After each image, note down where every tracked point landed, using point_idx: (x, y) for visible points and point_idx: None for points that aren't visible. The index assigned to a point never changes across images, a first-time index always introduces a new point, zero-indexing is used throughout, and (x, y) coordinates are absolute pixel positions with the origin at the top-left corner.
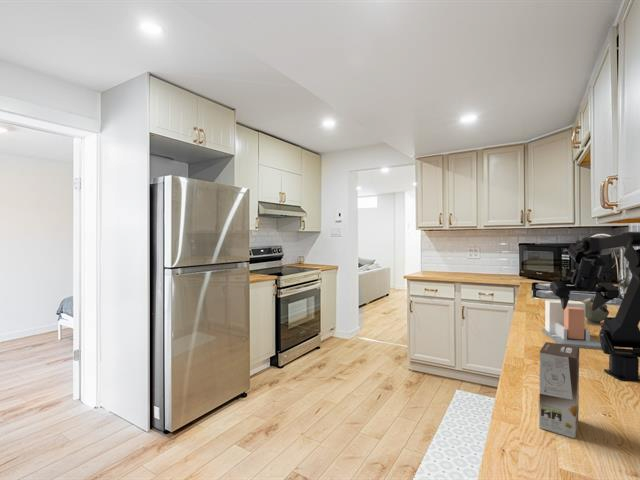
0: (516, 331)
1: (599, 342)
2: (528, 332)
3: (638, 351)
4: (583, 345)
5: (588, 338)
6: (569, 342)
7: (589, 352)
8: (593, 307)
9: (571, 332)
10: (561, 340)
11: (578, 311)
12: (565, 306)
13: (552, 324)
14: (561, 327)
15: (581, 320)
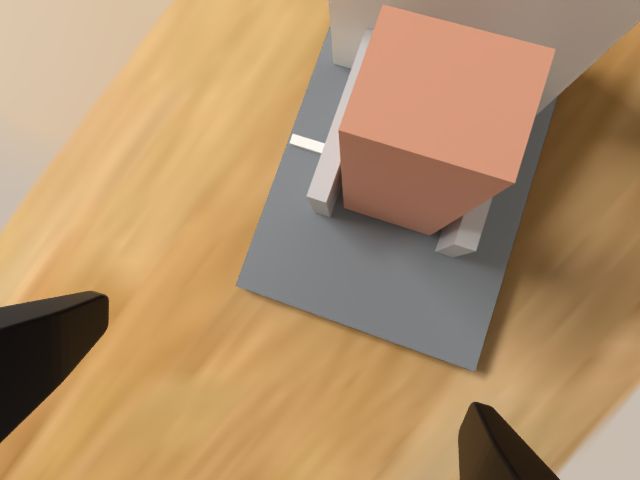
0: (184, 2)
1: (498, 280)
2: (242, 22)
3: None
4: (350, 326)
5: (448, 253)
6: (303, 270)
7: (323, 402)
8: (473, 466)
9: (362, 205)
10: (284, 230)
11: (439, 172)
12: (29, 401)
13: (348, 33)
14: (323, 150)
15: (445, 205)
